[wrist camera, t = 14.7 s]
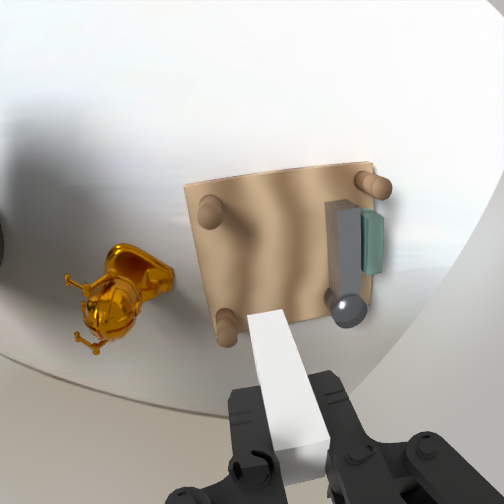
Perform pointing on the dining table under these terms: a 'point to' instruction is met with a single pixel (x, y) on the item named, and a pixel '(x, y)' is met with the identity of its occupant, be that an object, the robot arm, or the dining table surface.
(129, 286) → the figurine
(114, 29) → the dining table surface
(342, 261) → the leg
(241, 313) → the board
